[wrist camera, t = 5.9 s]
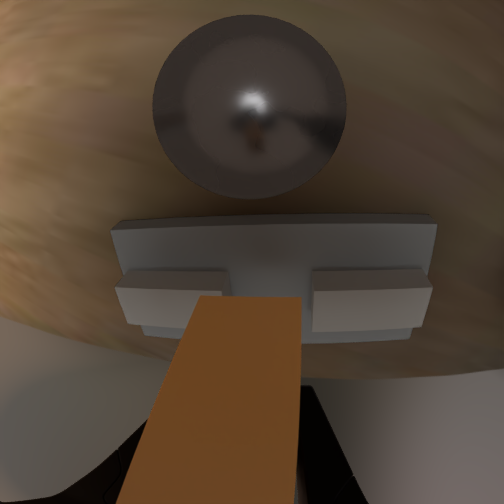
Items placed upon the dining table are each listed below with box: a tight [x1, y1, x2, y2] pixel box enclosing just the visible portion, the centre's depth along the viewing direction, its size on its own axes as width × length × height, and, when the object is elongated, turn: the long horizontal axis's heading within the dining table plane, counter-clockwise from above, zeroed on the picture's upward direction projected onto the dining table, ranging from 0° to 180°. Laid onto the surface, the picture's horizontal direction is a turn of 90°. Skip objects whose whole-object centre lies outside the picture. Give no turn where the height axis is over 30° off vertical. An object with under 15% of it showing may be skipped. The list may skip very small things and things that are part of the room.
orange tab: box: [116, 295, 302, 504], centre depth 7 cm, size 3×5×7 cm, turn 4°
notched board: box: [110, 213, 438, 343], centre depth 19 cm, size 20×9×4 cm, turn 95°
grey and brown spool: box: [153, 15, 346, 199], centre depth 12 cm, size 7×7×6 cm
